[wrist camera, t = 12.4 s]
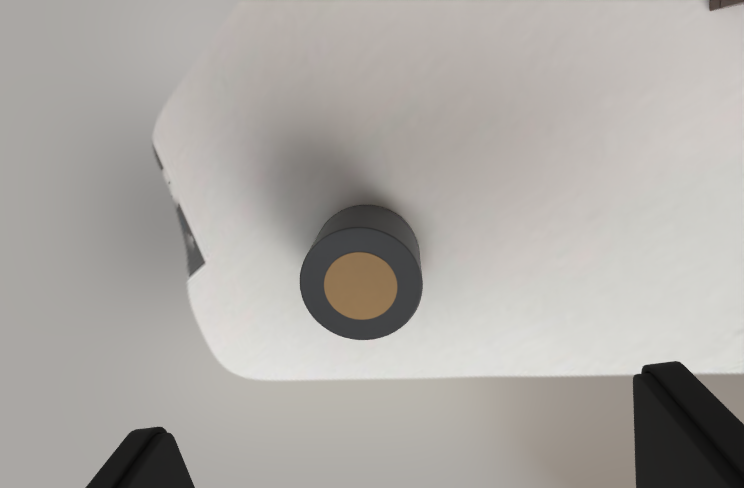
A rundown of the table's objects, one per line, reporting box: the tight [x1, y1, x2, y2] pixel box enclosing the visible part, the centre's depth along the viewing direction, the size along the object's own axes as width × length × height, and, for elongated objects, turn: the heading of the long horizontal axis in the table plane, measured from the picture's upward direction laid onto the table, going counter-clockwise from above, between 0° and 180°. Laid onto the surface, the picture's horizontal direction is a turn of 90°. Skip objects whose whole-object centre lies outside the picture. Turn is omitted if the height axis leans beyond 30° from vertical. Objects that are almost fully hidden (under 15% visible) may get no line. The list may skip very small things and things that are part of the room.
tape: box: [300, 205, 423, 340], centre depth 26 cm, size 6×6×5 cm
